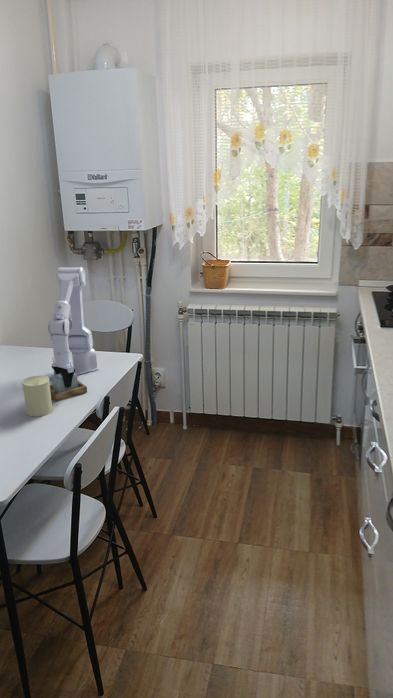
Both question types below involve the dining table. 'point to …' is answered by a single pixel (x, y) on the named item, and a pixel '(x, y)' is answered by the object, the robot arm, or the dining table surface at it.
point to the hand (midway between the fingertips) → (65, 384)
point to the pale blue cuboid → (59, 383)
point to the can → (37, 395)
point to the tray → (68, 392)
